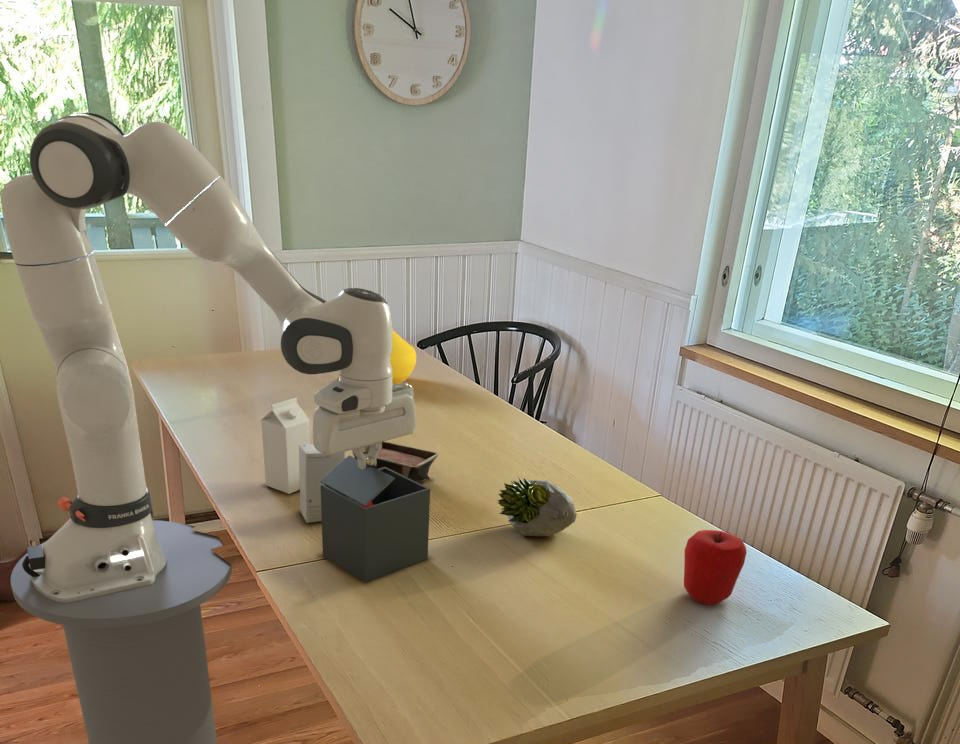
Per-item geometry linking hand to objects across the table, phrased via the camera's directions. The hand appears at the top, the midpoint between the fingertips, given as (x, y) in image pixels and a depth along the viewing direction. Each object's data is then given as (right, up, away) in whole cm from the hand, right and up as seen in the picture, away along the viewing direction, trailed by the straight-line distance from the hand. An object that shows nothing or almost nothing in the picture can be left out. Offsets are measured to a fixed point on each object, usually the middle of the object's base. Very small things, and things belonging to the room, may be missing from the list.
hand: (367, 467), depth 154 cm
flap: (-2, -2, 0) cm, 3 cm away
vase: (-9, +43, +108) cm, 117 cm away
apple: (+61, -23, +6) cm, 66 cm away
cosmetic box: (-12, -6, +25) cm, 29 cm away
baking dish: (+1, +3, +43) cm, 43 cm away
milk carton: (-22, +2, +37) cm, 43 cm away
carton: (0, -15, +11) cm, 19 cm away
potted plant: (+31, -10, +25) cm, 40 cm away
